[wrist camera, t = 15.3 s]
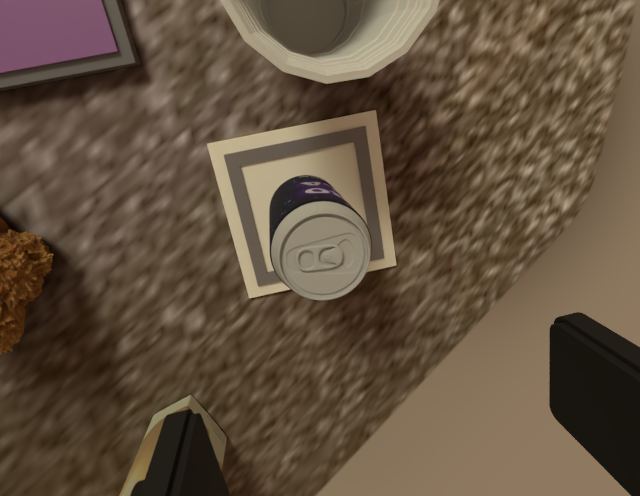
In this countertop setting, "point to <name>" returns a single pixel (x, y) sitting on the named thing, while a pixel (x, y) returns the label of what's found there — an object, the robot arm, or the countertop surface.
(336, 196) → the beverage can
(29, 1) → the ink pad
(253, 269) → the print card
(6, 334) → the stuffed squirrel
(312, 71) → the plastic cup
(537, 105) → the countertop surface
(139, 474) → the skincare box
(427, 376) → the countertop surface
